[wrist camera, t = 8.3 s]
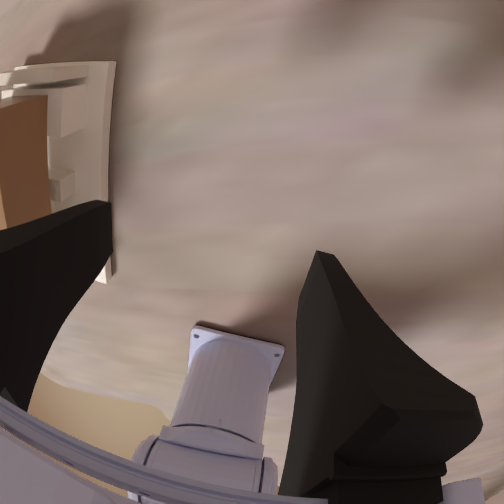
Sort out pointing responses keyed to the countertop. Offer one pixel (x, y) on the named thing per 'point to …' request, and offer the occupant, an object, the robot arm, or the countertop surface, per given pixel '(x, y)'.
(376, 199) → the countertop surface
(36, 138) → the tan wooden plank
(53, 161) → the display stand
